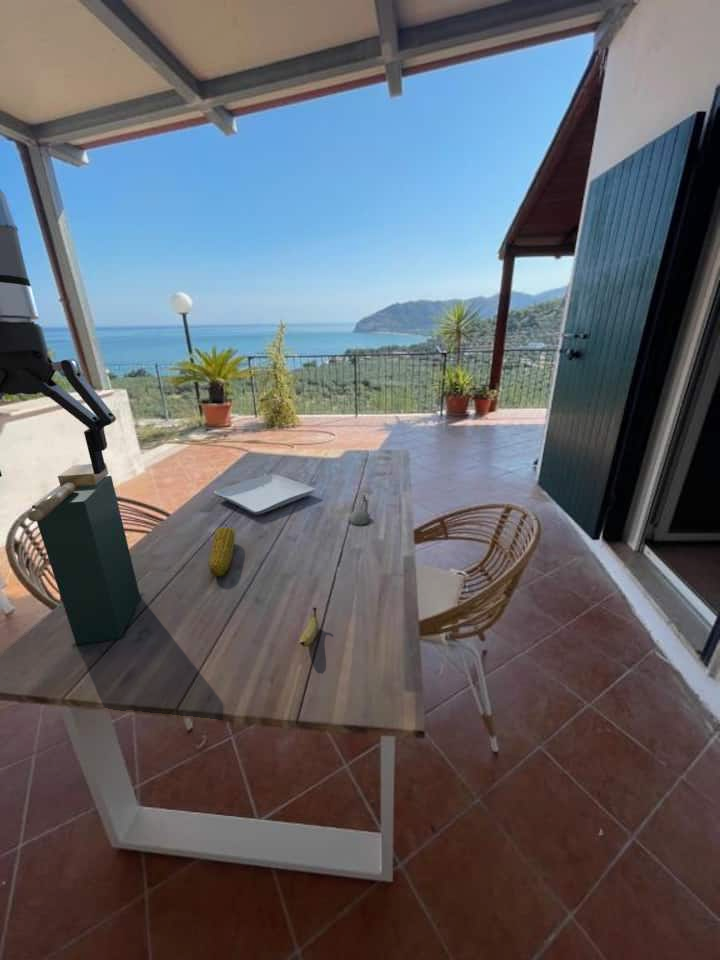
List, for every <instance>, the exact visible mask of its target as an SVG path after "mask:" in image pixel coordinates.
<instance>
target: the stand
mask: <svg viewBox="0 0 720 960" xmlns="http://www.w3.org/2000/svg"><path fill="white" fill-rule="evenodd" d="M60 487H61V486H60V484H59V485H58V486H56V487H55V488H54V489H53V490H51V491H49V493H46V495H44V496H43V497H42V498H40V499H39V500H38V501H36V502H35V503H33V504H32V505H31V509H32V508H34V507H35V506H36V505H38V504H39V503H40V502H42V501H43V500H44V499H46V498H47V497H48V496H50V495H51V494H52V493H54V492H55V491H56V490H58V489H59V488H60ZM36 523H37V524H36V525H37V527H38V530H39V533H40V537H41V539H42V543H43V545H44V549H45V552H46V555H47V558H48V561H49V565H50V568H51V571H52V573H53V577H54V580H55V583H56V586H57V589H58V592H59V595H60V598H61V601H62V604H63V605H62V606H63V608H64V611H65V614H66V617H67V620H68V623H69V626H70V630H71V633H72V635H73V639H74V642H75V645H76V646H77V645H78V646H79V645H83V644H84V645H85V644H90V643H97V642H102V641H103V642H104V641H108V640H114V639H121V638H122V636H123V634H124V632H125V630H126V627H127V626H128V623H129V621H130V619H131V616H132V614H133V612H134V610H135V608H136V606H137V603H138V601H139V599H140V597H141V595H140V591H139V586H138V582H137V578H136V574H135V573H136V572H135V569H134V565H133V561H132V556H131V553H130V548H129V544H128V541H127V535H126V531H125V527H124V524H123V519H122V515H121V511H120V507H119V502H118V499H117V494H116V489H115V486H114V482H113V477H112V475H107V476H105V477H104V478H103V479H102V480H101V481H100V482H99V483H98V484H97V485H91V486H78V487H76V490H75V491H74V492H73V493H72V494H71V495H70V496H69V497H67V498H66V499H65V500H64V501H63V502H61V503H60V504H59V505H58V506H57V507H55V508H54V509H53V510H52V511H51V512H49V513H48V514H47V515H46V516H45V517H43V518H42V519H41V520H39V521H36Z"/></svg>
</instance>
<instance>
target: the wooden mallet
mask: <svg viewBox="0 0 720 960" xmlns="http://www.w3.org/2000/svg"><path fill="white" fill-rule="evenodd" d="M104 463H105V467H106V469H105V470H103V471H102V472H101V473H100V474H94V471H93V467H92V463H87V464H74V465H72V466H70V467H69V468H67V469H66V470H64V471H63V472H61V473H60V474H59V475H57V480H58V482H59V485H60V486H61V487H60V488H59V489H58V490H56V491H55V492H54V493H52V494H51V495H50V496H48V497H47V498H46V499H44V500H43V501H42V502H40V503H39V504H38V505H36V506H35V507H34V508H32V507H31V509H30V510H29V511H27V514H26V517H27V519H28V520H29V521H31V522H37V521H39V520H41V519H42V518H43V517H45V516H46V515H47V514H48V513H49V512H51V511H52V510H53V509H54V508H55V507H57V506H58V505H59V504H60V503H61V502H63V501H64V500H65V499H66V498H67V497H69V496H70V495H71V494H72V493H73V492H74V491H75V490H76V487H78V486H91V485H97V484H98V483H99V482H100V481H101V480H102V479H103V478H104V477H105V476H109V470H108V466H107V463H106V462H104Z"/></svg>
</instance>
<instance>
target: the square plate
mask: <svg viewBox="0 0 720 960" xmlns="http://www.w3.org/2000/svg"><path fill="white" fill-rule="evenodd" d="M263 486H264V487H263ZM315 490H316V488H315V487H312V486H309V485H307V484H304V483H301V482H299V481H296V480H293V479H291V478H288V477H284V476H281V475H278V474H274V473H269V474H266V475H262V476H259V477H255V478H250V479H248V480H244V481H242V482H238V483H235V484H233V485H229V486H226V487H223V488H220V489H217V490H214V491H213V494H215V495H216V496H217V497H219V498H220V499H223V500H225V501H227V502H229V503H231V504H234V505H235V506H238V507H239V508H241V509H242V510H245V511H247V512H249V513H251V514H253V515H255V516H256V515H257V516H259V515H263V514H266V513H267V512H271V511H274V510H275V509H279V508H281V507H283V506H286V505H288V504H289V505H290V504H291V503H293V502H296V501H298V500H301V499H304V498H306V497H307V496H310V495H311V494H312V493H313V492H315Z"/></svg>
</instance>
